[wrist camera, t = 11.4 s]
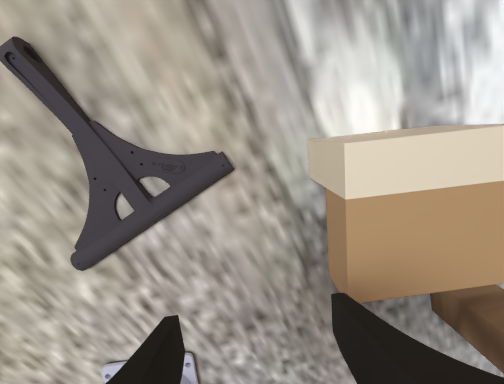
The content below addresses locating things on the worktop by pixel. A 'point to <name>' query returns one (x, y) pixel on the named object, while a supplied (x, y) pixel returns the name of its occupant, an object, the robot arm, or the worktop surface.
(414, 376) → the robot arm
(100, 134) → the bracket
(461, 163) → the tan block
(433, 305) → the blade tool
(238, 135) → the worktop surface
